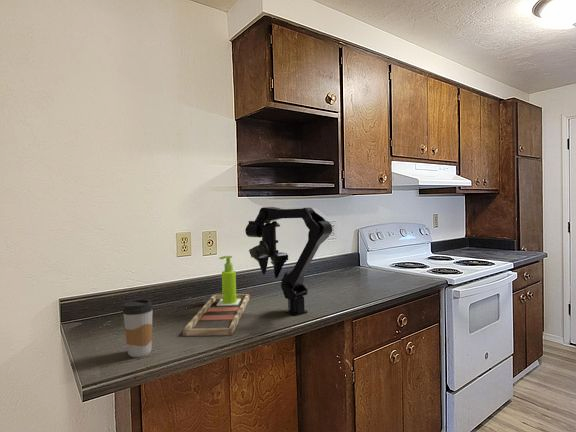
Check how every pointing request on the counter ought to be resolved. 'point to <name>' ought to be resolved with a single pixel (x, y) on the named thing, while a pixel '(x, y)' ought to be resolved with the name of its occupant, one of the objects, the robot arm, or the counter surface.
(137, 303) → the coffee cup
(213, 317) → the mats
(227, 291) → the soap dispenser
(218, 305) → the pad
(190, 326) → the frame
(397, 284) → the counter surface
